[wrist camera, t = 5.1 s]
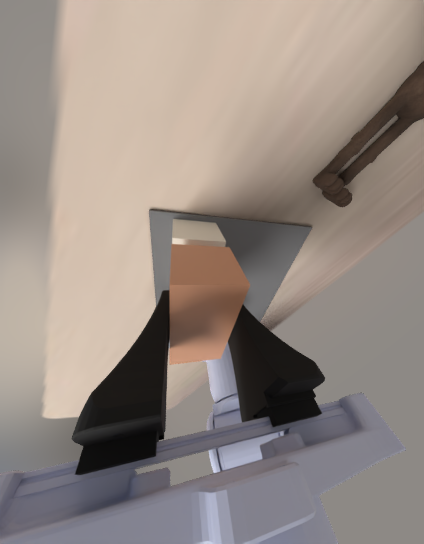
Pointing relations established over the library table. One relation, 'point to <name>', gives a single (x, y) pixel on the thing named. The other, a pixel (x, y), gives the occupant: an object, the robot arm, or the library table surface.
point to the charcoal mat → (236, 252)
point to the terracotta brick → (203, 301)
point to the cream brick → (197, 233)
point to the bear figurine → (408, 107)
